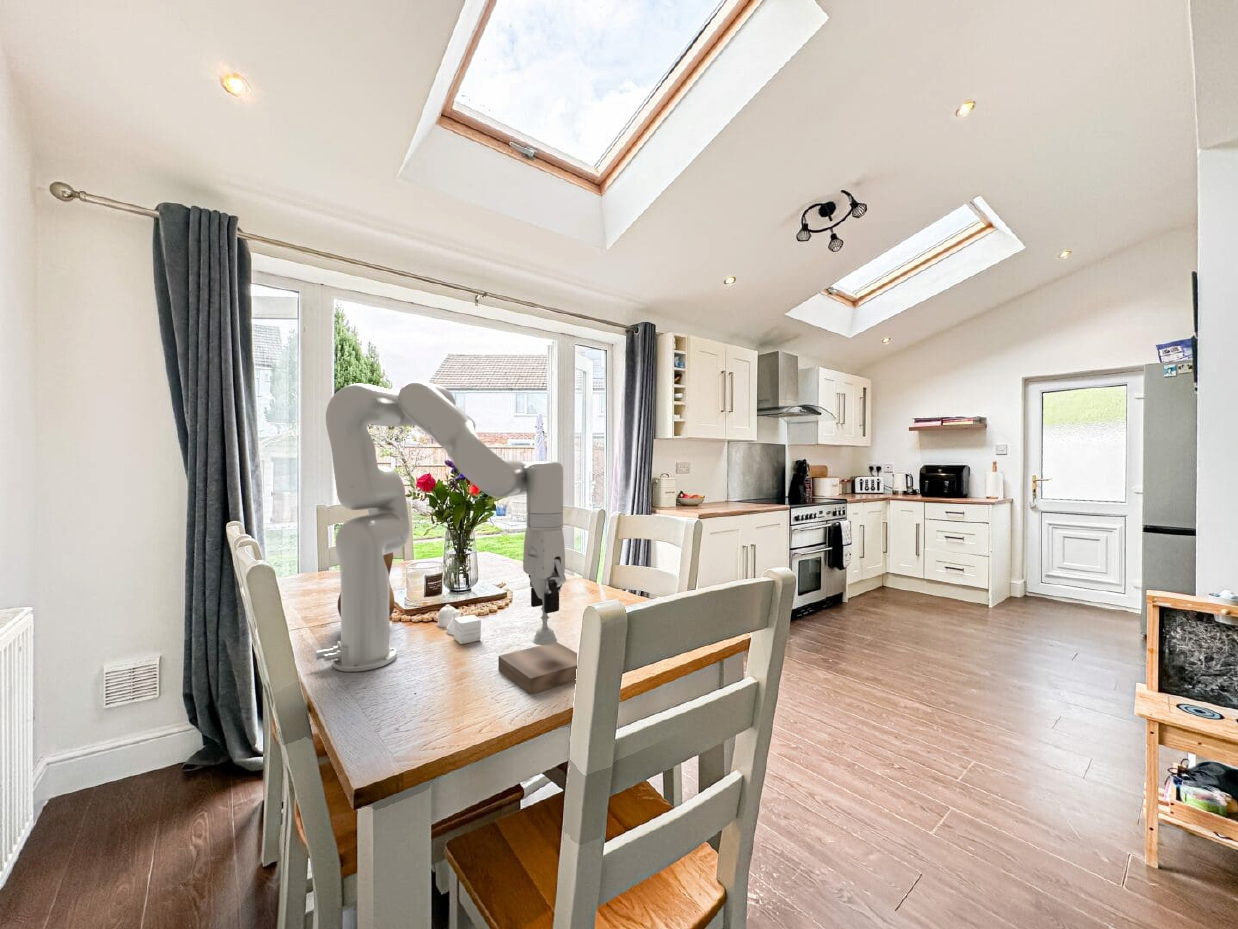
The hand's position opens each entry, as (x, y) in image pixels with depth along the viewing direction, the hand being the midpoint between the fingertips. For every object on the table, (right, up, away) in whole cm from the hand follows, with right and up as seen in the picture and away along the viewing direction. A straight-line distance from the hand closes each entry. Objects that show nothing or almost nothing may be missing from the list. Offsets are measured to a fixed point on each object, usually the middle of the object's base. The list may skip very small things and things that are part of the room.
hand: (544, 607), depth 108 cm
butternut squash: (-50, -13, +27) cm, 59 cm away
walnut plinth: (0, -13, 0) cm, 13 cm away
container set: (-26, -13, +25) cm, 39 cm away
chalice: (0, -7, 0) cm, 7 cm away
